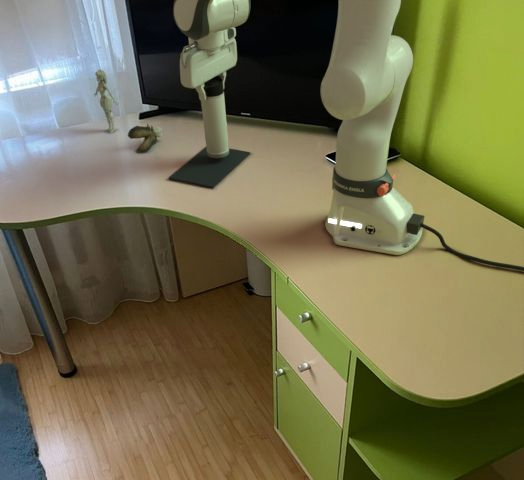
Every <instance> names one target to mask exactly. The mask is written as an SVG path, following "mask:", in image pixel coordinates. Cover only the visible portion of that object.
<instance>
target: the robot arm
mask: <svg viewBox="0 0 524 480" xmlns="http://www.w3.org/2000/svg"><path fill="white" fill-rule="evenodd" d="M337 1H338V3H337V4H338V5H337V7H338V8H337V17H336V18H337V19H336V27H335V32H334V37H333V43H332V48H331V54H330V59H329V62H328V67H327V69H326V71H325V74H324V75H323V78H322V81H321V83H320V92H319V93H320V99H321V102H322V104H323V106H324V108H325V109H326V111H327V112H328V114H330V115H331V116H332V117H334V118H336V119H338V120H341V121H342V122H341V124H340V126H339V128H338V131H337V134H336V145H335V146H336V149H335V163H334V164H335V165H334V167H333V170H332V180H331V185H332V186H331V187H332V188H331V189H332V198H331V203H330V208H329V211H328V214H327V217H326V219H325V222H324V226H325V229H326V231H327V232H328V233H329V234H330V235H331V237H332V239H333V242H334V244H335V245H337V246H342V247H347V248H353V249H359V250H365V251H370V252H375V253H376V252H377V253H383V254H388V255H394V256H401V255H403V254H406V253H409V251H411V250H412V249H413V248H415V247H416V245H417V244H418V243H419V241H420V240H421V238H422V235H423V229H424V230H425V231H428V232H430V233H432V234H434V235H435V236H436V237H437V238H438V240H439V242H440V244H441V246H442V247H443V248H444V249H445V250H446V251H447V252H449V253H451V254H453V255H456V256H457V257H460V258H463V259H465V260H469V261H473V262H476V263H480V264H483V265H488V266H493V267H498V268H504V269H510V270H516V271H521V272H524V266H522V265H515V264H509V263H503V262H497V261H492V260H488V259H483V258H480V257H476V256H472V255H469V254H465V253H462V252H459V251H457V250H455V249H453V248H452V247H450V246H449V245H448V244H447V243H446V241H445V239H444V237H443V235H442V233H440V232H439V231H438V230H437V229H435V228H433V227H431V226H429V225H427V224H425V223H424V221H425V215H424V214H418V213H415V211H414V207H413V205H412V204H411V203H410V202H409V201H408V200H407V199H406V198H405V197H404V196H403V195H402V194H401V193H400V192H398V190H397V189H396V188H394V187H393V185H394V182H395V180H396V178H397V177H396V175H397V173H396V172H395V173H394V174H393V175H392V176H391V174H390V172H389V171H388V168H387V163H388V157H389V149H390V142H391V135H392V132H393V128H394V124H395V121H396V118H397V115H398V111H399V108H400V104H401V100H402V96H403V94H404V93H403V92H404V89H405V87H406V83H407V81H408V78H409V76H410V74H411V72H412V69H413V65H414V55H413V51H412V48H411V46H410V44H409V43H408V41H406V40H405V39H404V38H402V37H401V36H398V35H395V34H394V35H393V34H392V32H393V28H394V25H395V22H396V19H397V16H398V14H399V12H400V9H401V3H402V0H337ZM172 8H173V9H172V13H173V14H172V16H173V20H174V23H175V25H176V26H177V28H178V30H179V31H180V32H181V33H182V34H183V35H185V36H186V37H188V45H185V46H183V48H182V51H181V53H180V58H179V75H180V76H179V77H180V83H181V85H182V86H183V87H184V88H187V89H195V90H196V92H197V94H198V99H199V101H201V100H202V101H205V100H206V99H208V96H207V95H208V94H207V92H205V91H204V89H203V87H204V83H205V82H206V81H208V80H210V79H212V78H214V77H216V76H221V78H222V80H223V90H225V82H226V79H227V78H226V77H227V71H228V70H230V69H232V68H234V67H236V65H237V62H238V49H237V48H238V47H237V41H236V38H235V37H236V36H237V30H236V29H237V28H236V27H239V26H241V25H243V24H244V23H246V22H247V21H248V19H249V17H250V15H251V14H250V13H251V0H174V1H173V6H172Z"/></svg>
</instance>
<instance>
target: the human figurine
mask: <svg viewBox="0 0 524 480" xmlns="http://www.w3.org/2000/svg"><path fill="white" fill-rule="evenodd" d="M94 74H95V77H96V78H95V79H96V81H97V87H96V89H95V93H94V94H93V96H94V97H96V96H98V95H99V94H100V99H99V104H100V107H101V108H102V110H103V113H104V115H105V117H106V121H107V124H108V129H106V132H108V133H110V134H111V133H113V132H115V131H116V128H115V126H114V122H115V119H114V116H113V114H112V111H113V106H112V105H113V104H115V105H116V106H119V104H120V102H119V101H118V100H117V99H115V96H114V94H113V93H112V92H111V91H110V88H109V85H108V76H107V74H106V72H105V71H104V69H97V71H95V73H94ZM106 91H107V92H108V94H109V95H108V94H106ZM98 93H99V94H98ZM112 101H113V102H112Z"/></svg>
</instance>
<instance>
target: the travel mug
mask: <svg viewBox="0 0 524 480" xmlns="http://www.w3.org/2000/svg"><path fill="white" fill-rule="evenodd" d="M203 89H204V91H205V92H207V94H208V95H207V96H208V99H206V100H205V101H202V100H200V106H201V112H202V121H203V129H204V138H205V147H206V148H207V155H208V156H209V157H211V158H223V157H225V156H227V155H228V154H229V149H230V145H229V134H228V123H227V113H226V111H227V110H226V100H225V91H224V90H225V89H223V80H222V78H221V76H218V75H217V76H216V77H214V78H212V79H210V80H208V81H206V82H205V83H204V87H203Z"/></svg>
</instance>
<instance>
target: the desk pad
mask: <svg viewBox="0 0 524 480" xmlns="http://www.w3.org/2000/svg"><path fill="white" fill-rule="evenodd" d="M250 155H251V152H250V151H246V150H240V149H234V148H229V154H228V155H227V156H225V157H223V158H211V157H209V156H208V155H207V148H206V146H205V147H204V148H202V149H201V150H200V151H199V152H197V153H196V154H195V155H194V156H193V157H192V158H190V159H189V160H188V161H187V162H186V163H184V164H183V165H181V166H180V167H179V168H178V169H177V170H175V171H174V172H173V173H172V174H171V175H170V176H168V180H169V181H173V182H174V181H175V182H179V183H184V184H189V185H192V186H193V185H194V186H199V187H204V188H208V189H212V190H213V189H214V188H215V187H217V186H218V185H219V183H221V182H222V181H223V180H224V179H225V178H226V177H227V176H228V175H229V174H231V173H232V172H233V171H234V170H235V169H236V168H237V167H238V166H239V165H240V164H241V163H242V162H243V161H244V160H246V159H247V158H248V157H249V156H250Z"/></svg>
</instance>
